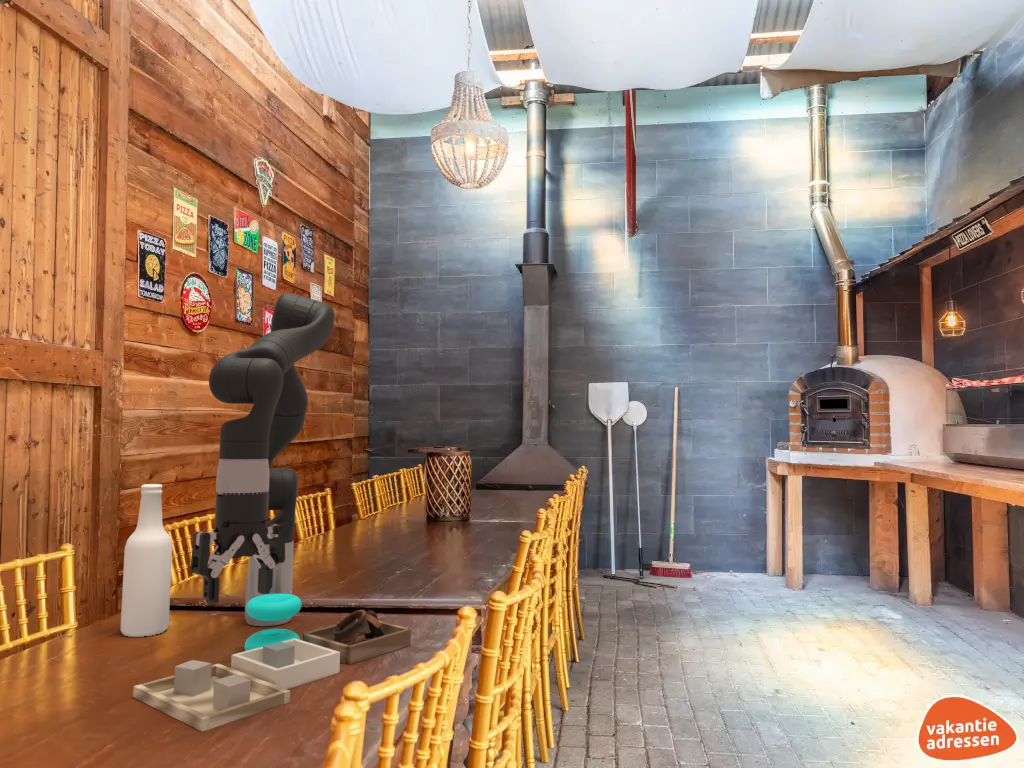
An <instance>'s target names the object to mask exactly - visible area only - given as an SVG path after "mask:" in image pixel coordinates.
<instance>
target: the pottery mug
mask: <svg viewBox="0 0 1024 768" xmlns="http://www.w3.org/2000/svg"><path fill="white" fill-rule="evenodd" d="M356 619H358V621H356ZM354 621H356V622H355V623H354V624H353V625H351V626H350V627H348V628H346V629H344V628H345V627H346V626H348V625H349V624H351V623H352V622H354ZM379 621H380V620H379V619H378V615H377V613H376V612H375V611H373V610H367V611H366V610H365V609H359V610H358V609H357V610H355V611H353V612H351V613H349V614H348V615H346V616H345V617H343V618H342V619H341V620H339V622H337V627H338V630H337V628H336V627H335V628H334V629H333V630H332V633H333V634H334V636H335V638H334V641H336V642H339V643H342V644H346V645H347V643H352V644H357V642H356V639H357V636H356V632H359V633H364V634H363V636H364V638H365V639H366V640H370V639H374V638H377V637H381V636H384V635H385V634H384V631H383V628H382V626H381V624H380V623H379ZM343 629H344V630H343Z"/></svg>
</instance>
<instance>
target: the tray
mask: <svg viewBox="0 0 1024 768" xmlns="http://www.w3.org/2000/svg"><path fill="white" fill-rule="evenodd" d="M235 674H236V675H238V676H241V677H244V678H246V679H249V680H251V682H250V701H249V702H246V703H243V704H239V705H236V706H233V707H230V708H227V709H224V710H221V711H218V710H216V709H213V691H214V680H218V679H221V678H225V677H228V676H232V675H235ZM174 675H175V674H174ZM174 675H170V676H166V677H162V678H159V679H156V680H151V681H149V682H143V683H139V684H136V685H133V688H132V689H133V690H132V692H133V693H132V697H133V698H134V699H136V700H137V701H140V702H142V703H144V704H146V705H148V706H150V707H152V708H154V709H156V710H158V711H160V712H162V713H164V714H166V715H168V716H170V717H172V718H174V719H176V720H178V721H179V722H183V723H184V724H186V725H188V726H189V727H192V728H194V729H196V730H198V731H200V732H202V733H203V732H206V731H209V730H212V729H215V728H217V727H221V726H224V725H226V724H229V723H233V722H235V721H238V720H241V719H244V718H247V717H250V716H252V715H253V716H254V715H257V714H259V713H262V712H265V711H268V710H270V709H273V708H276V707H279V706H282V705H285V704H288V703H290V702H291V690H290V689H288V690H287V689H284V688H281V687H279V686H276V685H274V684H271V683H268V682H266V681H263V680H260V679H258V678H255V677H253V676H250V675H247V674H245V673H242V672H239V671H237V670H234V669H232V668H231V667H228V666H226V665H223V664H222V663H215V664H212V665H211V689H210V690H207V691H205V692H203V693H200V694H198V695H196V696H188V695H183V694H178V693H174Z"/></svg>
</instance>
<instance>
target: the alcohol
mask: <svg viewBox="0 0 1024 768" xmlns="http://www.w3.org/2000/svg"><path fill="white" fill-rule="evenodd" d="M140 488H141V491H140V494H141V496H140V503H139V509H138V510H139V511H138V519H137V523H136V528H135V530H134V531H133V532H132V533H131V535H130V536H129V537H128V538H127V540H126V543H125V546H124V552H123V553H124V557H123V573H122V575H123V576H122V593H121V595H122V596H121V597H122V598H121V610H120V611H121V613H120V632H121V633H122V635H123V636H125V637H127V636H128V637H127V638H145V637H144V636H147V637H152V635H153V636H157V635H156V634H158V635H160V633H161V634H163V633H165V632H164V631H165V630H168V628H169V624H170V608H171V607H170V602H171V583H172V581H171V580H172V563H173V562H172V561H173V560H172V558H173V542H172V537H171V536H170V534H169V533H168V532H167V531H166V530H165V528H164V525H163V505H162V504H163V503H162V502H163V498H162V493H163V490H162V489H163V485H162V484H160V483H159V484H158V483H148V484H146V483H144V484H142V485H140Z"/></svg>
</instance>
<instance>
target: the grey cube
mask: <svg viewBox="0 0 1024 768" xmlns="http://www.w3.org/2000/svg"><path fill="white" fill-rule="evenodd" d="M294 650H295V646H293V645H290V644H287V643H284V642H277V643H273V644H269V645H266V646H263V664H266V665H269V666H272V667H275V668H277V669H278V668H281V667H285V666H288V665H292V664H294Z"/></svg>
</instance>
